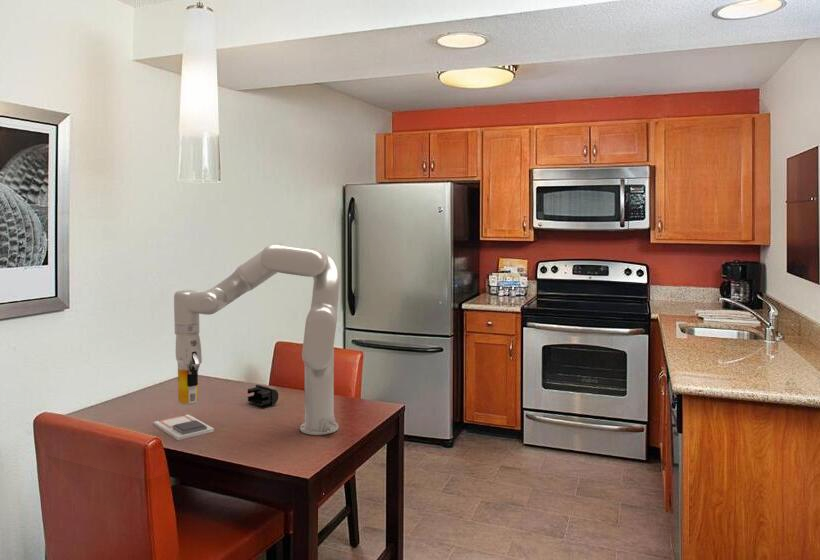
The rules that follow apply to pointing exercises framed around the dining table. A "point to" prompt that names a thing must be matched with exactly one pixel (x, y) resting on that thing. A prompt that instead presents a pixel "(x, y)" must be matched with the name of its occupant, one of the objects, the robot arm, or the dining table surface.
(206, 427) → the stamping board
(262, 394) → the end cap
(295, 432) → the dining table surface
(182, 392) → the beer can
